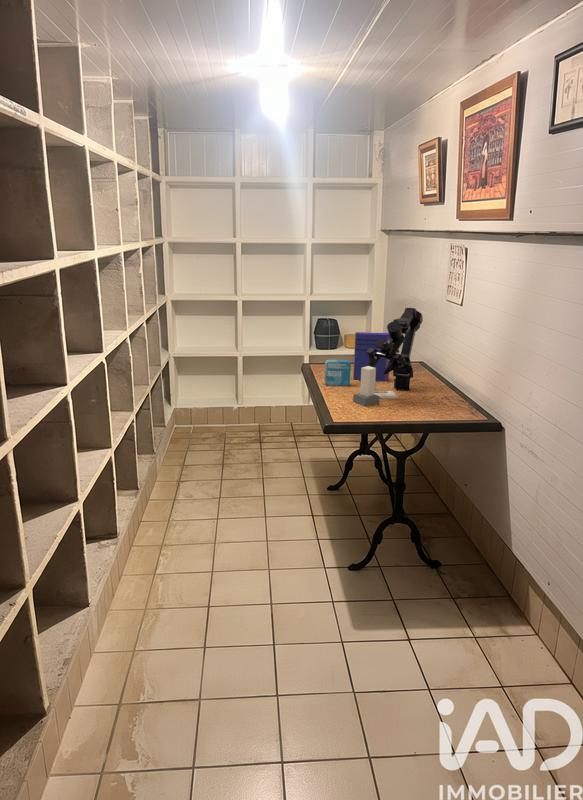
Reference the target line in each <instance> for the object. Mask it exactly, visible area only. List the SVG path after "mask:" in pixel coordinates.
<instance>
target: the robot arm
mask: <svg viewBox="0 0 583 800" xmlns="http://www.w3.org/2000/svg"><path fill="white" fill-rule="evenodd" d="M423 321H424V317H423V314H422V312H420V311H418V310H417V308H414V307H405V309H404V311H403V313H402V315H401V316H400V317H399V318H396V319H393V321H390V322H388V324H387V326H386V328H387V329H386V330H387V333H389V337H390V339H389V340H388V341H387V342H386V341H382V340H377V342H376V345H375V347H377V348H379V351H380V352H381V353H378V352H377V350H376V349H372V348H369V349H368V350H367V352H366V353H367V354H368V356H369V364H368V366H370V367H374V366H375V365H376V364H377V363H378V360H379V359H380V358H383V359H387V360H390V362H389V364H388V366H387V367H386V369H385V371H384V373H383V374H384V375H386V374H387V373H389V374H390V373H391V372H392V375H393V377H395V378H394V380H393V381H394V382H393V388H394V389H396V391H411V388H410V384H411V379H412V378H414V369H413V364H412V361H411V353H412V348H413V344H414V340H415V337H416V332H417V331H419V329H420V328H421V325H422V323H423ZM400 348H401V351H400V350H399V349H400Z"/></svg>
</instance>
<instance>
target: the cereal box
mask: <svg viewBox="0 0 583 800" xmlns="http://www.w3.org/2000/svg"><path fill="white" fill-rule="evenodd" d="M354 334H355V335H354V336H355V337H354V355H353V372H352V373H353V375H352V376H353V377H352V378H353V379H354V380H359V381H358V382H361V368H363V367H366V366H368V364H369V356H368V354H367V353H366V352H367V350H368V349H369V348H372V349H376V350H377V352H378V353H381V352H380V351H379V348H377V347H375V345H376V342H377V340H382V341H386V342H387V341H388V340H389V339H390V337H389V333H388V332H363V331H362V332H360V331H359V332H358V331H356V332H355V333H354ZM389 362H390V360H387V359H383V358H380V359H379V360H378V363H377V364H376V365H375V366H374V368H376V376H375V381H376V382H386V381H388V382H389V381H390V380H389V377H390V372H389V373H387V374H386V375H384V374H383V373H384V371H385V369H386V367H387V366H388V364H389ZM354 380H353V381H354Z"/></svg>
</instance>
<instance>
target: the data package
mask: <svg viewBox="0 0 583 800" xmlns="http://www.w3.org/2000/svg"><path fill="white" fill-rule="evenodd" d="M324 363H325V364H324V383H325V385H326V386H329V387H330V386H333V387H339V386H341V387H343V385H344V387H347V386H349V385H350V383H351V370H352V369H351V368H352V367H351V366H352V365H351V362H350V361H349V360H348V359H326V360H325V362H324ZM334 385H335V386H334Z"/></svg>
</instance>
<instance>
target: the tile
mask: <svg viewBox="0 0 583 800" xmlns="http://www.w3.org/2000/svg"><path fill="white" fill-rule="evenodd" d="M375 395H378V396H380V397H379V398H381V399H398V395H397V393H395V392H394V391H393V390H376V391H375Z"/></svg>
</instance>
